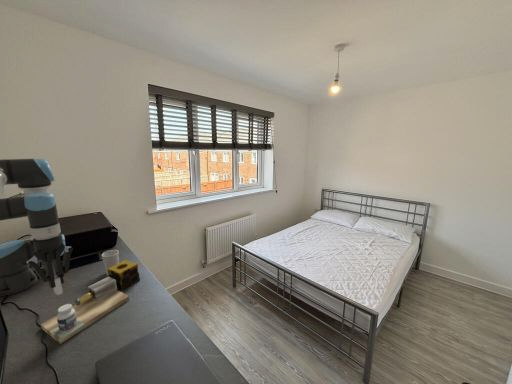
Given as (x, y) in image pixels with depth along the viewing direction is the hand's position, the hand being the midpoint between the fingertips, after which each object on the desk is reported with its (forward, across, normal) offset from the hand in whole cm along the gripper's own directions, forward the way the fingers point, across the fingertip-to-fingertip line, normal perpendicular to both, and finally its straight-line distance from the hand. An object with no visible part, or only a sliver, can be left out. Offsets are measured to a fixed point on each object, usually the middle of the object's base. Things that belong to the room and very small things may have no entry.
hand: (58, 292), depth 81 cm
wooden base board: (+16, +8, -1) cm, 18 cm away
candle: (+16, +28, +6) cm, 33 cm away
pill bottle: (+13, -1, -5) cm, 14 cm away
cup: (+16, +31, +22) cm, 42 cm away
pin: (+12, +10, +4) cm, 17 cm away
